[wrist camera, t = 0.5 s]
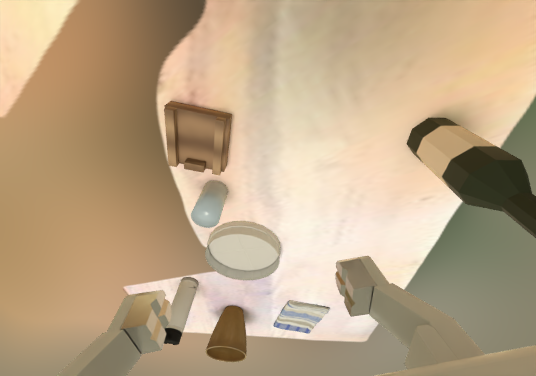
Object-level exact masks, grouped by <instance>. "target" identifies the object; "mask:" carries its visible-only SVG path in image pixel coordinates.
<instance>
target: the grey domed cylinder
mask: <svg viewBox="0 0 536 376" xmlns="http://www.w3.org/2000/svg"><path fill="white" fill-rule="evenodd" d="M227 194H228V189H227V187H226V186H225V184H223V183H222V182H220V181H216V180H212V181H209V182H207V183H206V184H205V186H204V188H203V190H202V192H201V194H200V196H199V199H198V201H197V203H196V205H195V207H194V209H193V211H192V213H191V217H192V220H193V221H194V222H195V223H196V224H197V225H199V226H202V227H206V228H210V227H214V226H216V225H217V224H218V222H219V219H220V216H221V213H222V210H223V207H224V204H225V200H226V197H227Z"/></svg>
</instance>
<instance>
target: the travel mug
mask: <svg viewBox="0 0 536 376" xmlns="http://www.w3.org/2000/svg"><path fill="white" fill-rule="evenodd" d="M197 287H198V281H197V280H195V279H193V278H190V277H186V278H183V279H182V280H181V283H180V285H179V288H178V290H177V293H176V295H175V298H174V300H173V303H172V305H171V309H172V312H171V319H170V323H169V324H168V326H167V327H166V328H165V332H166V337H165V340H164V343H165V344H167V343H169V344H173V345H177V344H179V342H180V339H181V336H182V333H183V330H184V327H185V324H186V321H187V318H188V315H189V311H190V308H191V305H192V302H193V299H194V296H195V293H196V290H197Z"/></svg>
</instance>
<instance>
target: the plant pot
mask: <svg viewBox="0 0 536 376" xmlns="http://www.w3.org/2000/svg"><path fill="white" fill-rule="evenodd" d="M206 354H207V355H208V356H209V357H211V358H213V359H216V360H219V361H225V362H239V361H243V360H244V359H245V358H246V330H245V321H244V315H243V311H242V309H241V308H239V307H237V306H228V307H226V308H225V310H224V312H223V313H222V315H221V317H220V319H219V321H218V322H217V324H216V327H215V329H214V331H213V333H212V336H211V338H210V341H209V343H208V346H207V349H206Z"/></svg>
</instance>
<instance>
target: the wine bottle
mask: <svg viewBox="0 0 536 376" xmlns="http://www.w3.org/2000/svg"><path fill="white" fill-rule="evenodd" d="M407 145H408V147H409V148H410V149H411V151H412V152H413V154H414V155H415V156H416V157H418V158H419V159H420V160H421V161H422V162H423V163H424V164H425V165H426V166H427V167H428V168H429V169H430V170H431V171H432V172H433V173H434V174H435V175H436V176H437V177H438V178H439V179H440V180H441V181H443V182H444V183H445V184H446V185H447V186H448V187H449V188H450V189H451V190H452V191H453V192H454V193H455V194H456V195H457V196H458V197H459V198H460V199H461V200H462V201H463V202H464V203H465V204H468V205H473V206H479V207H483V208H488V209H493V210H499V211H503V212H505V213H506V214H507V215H508V216H510V217H511V218H512V219H513V220H514V221H516V222H517V223H518V224H519V225H521V226H522V227H523V228H524V229H525V230H527V231H528V232H529V233H530V234H531V235H533V236H534V237H535V238H536V196H534V195H533V194H532V191H531V187H530V183H529V178H528V175H527V172H526V170H525V168H524V165H523V163H522V161H521V160H520V159H518V158H517V157H515V156H513V155H511V154H509V153H508V152H506V151H504V150H502V149H500V148H499V147H497V146H495V145H493V144H491V143H490V142H488V141H486V140H484V139H482V138H481V137H479V136H477V135H475V134H473V133H472V132H470V131H468V130H466V129H464V128H463V127H461V126H459V125H457V124H455V123H454V122H452V121H450V120H448V119H446V118H428V119H426V120H425V121H423V122H422V123H420V124H419V125H418V126H416V127H415V128H413V129H412V131H411V134H410V136H409V139H408V141H407Z"/></svg>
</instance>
